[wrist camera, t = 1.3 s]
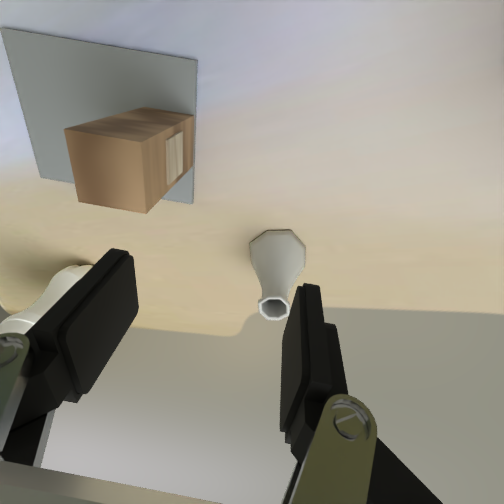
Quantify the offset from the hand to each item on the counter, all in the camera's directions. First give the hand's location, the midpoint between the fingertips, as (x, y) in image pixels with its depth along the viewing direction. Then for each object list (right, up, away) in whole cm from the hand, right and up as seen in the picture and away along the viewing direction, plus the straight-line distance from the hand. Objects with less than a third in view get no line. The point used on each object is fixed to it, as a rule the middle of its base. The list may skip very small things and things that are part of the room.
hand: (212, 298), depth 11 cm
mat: (-13, +15, +19) cm, 28 cm away
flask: (+5, +2, +26) cm, 26 cm away
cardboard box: (-7, +14, +18) cm, 24 cm away
